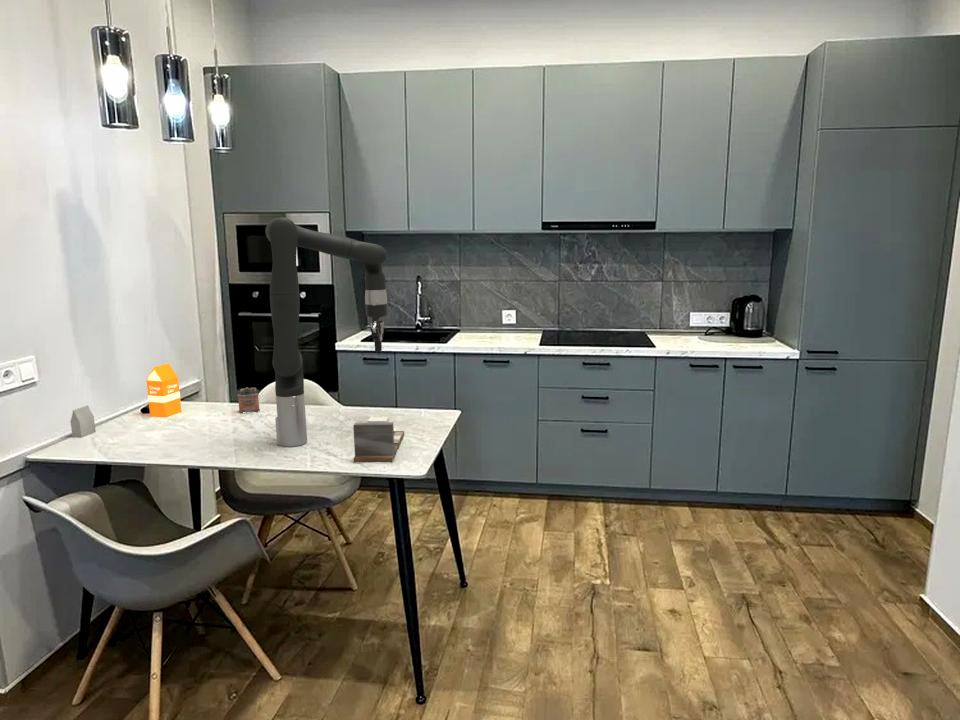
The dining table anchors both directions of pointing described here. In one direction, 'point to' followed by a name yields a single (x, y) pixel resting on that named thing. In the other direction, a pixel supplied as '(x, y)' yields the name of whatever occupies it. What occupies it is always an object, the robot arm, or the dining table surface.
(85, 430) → the grey house block
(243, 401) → the red container
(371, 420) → the block
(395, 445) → the base
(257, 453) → the dining table surface
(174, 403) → the orange juice
